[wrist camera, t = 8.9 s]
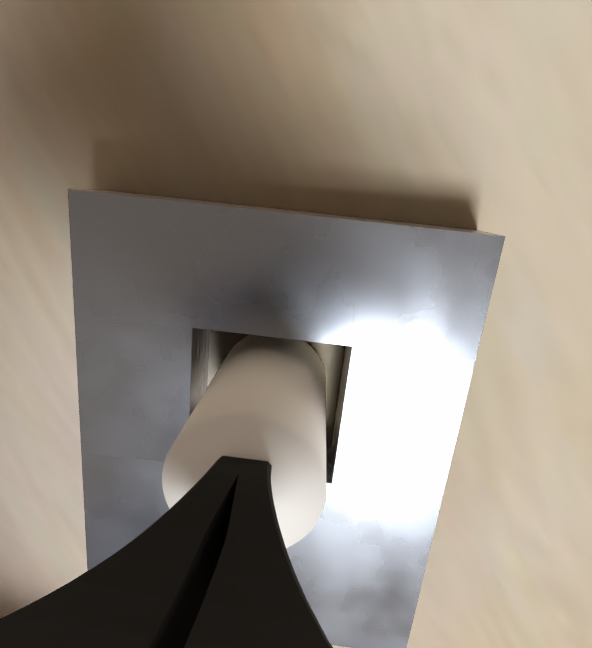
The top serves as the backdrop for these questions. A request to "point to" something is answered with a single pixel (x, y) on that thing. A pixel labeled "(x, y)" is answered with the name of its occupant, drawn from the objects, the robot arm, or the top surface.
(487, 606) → the top surface
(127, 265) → the plate
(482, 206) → the top surface
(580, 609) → the top surface
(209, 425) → the white rounded cylinder
